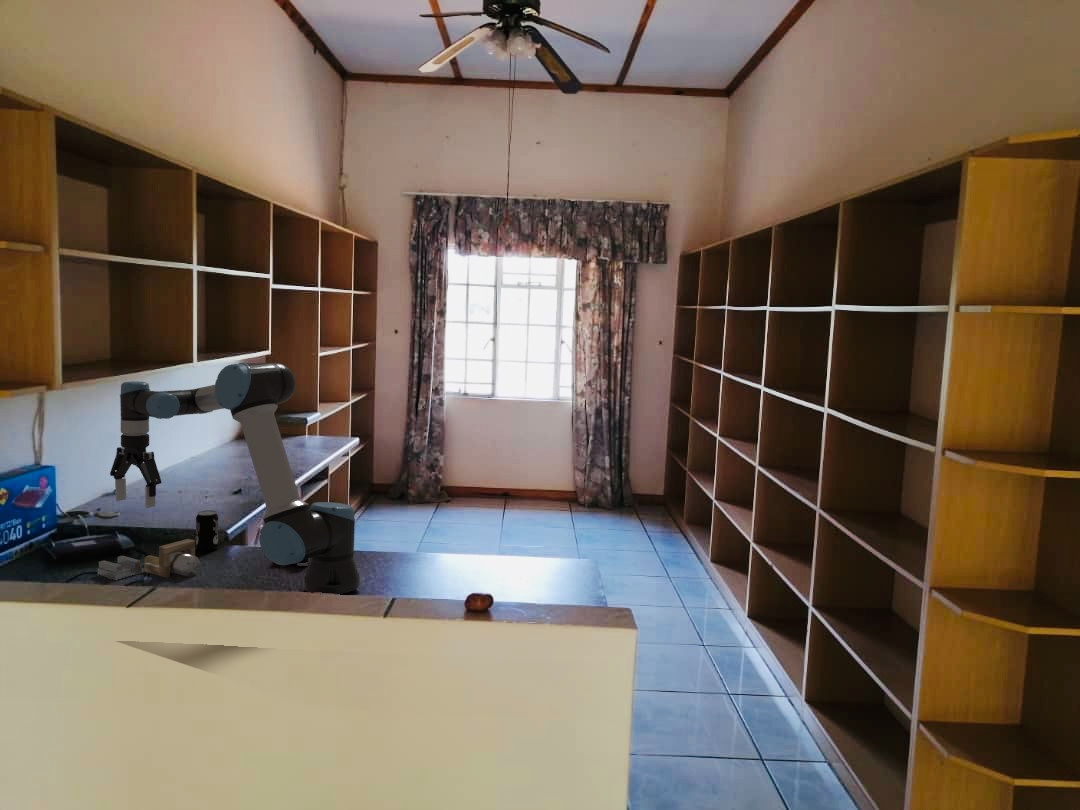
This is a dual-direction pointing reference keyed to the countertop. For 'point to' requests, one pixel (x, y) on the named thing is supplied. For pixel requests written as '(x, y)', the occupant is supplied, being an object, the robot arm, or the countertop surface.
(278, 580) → the countertop surface
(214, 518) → the beverage can
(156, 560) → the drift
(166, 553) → the tan wooden angular frame
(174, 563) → the grey rounded piece
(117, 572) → the v block
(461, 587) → the countertop surface
